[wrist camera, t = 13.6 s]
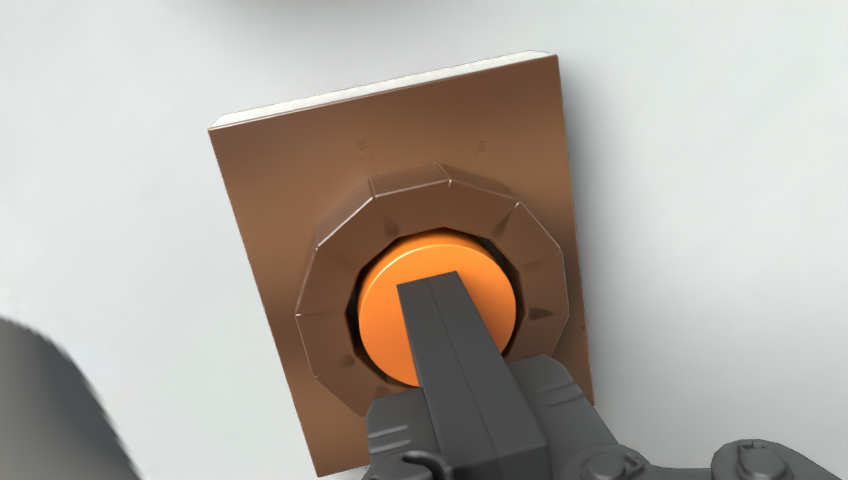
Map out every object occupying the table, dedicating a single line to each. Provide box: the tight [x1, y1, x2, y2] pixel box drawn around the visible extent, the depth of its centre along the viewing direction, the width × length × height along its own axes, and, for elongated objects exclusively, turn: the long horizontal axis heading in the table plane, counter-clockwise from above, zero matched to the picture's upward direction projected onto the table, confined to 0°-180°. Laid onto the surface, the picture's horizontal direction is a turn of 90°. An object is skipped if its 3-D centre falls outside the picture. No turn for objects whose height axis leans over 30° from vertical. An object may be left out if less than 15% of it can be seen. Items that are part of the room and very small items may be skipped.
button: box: [356, 227, 516, 387], centre depth 16 cm, size 4×4×2 cm
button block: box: [208, 50, 595, 477], centre depth 18 cm, size 11×9×4 cm
